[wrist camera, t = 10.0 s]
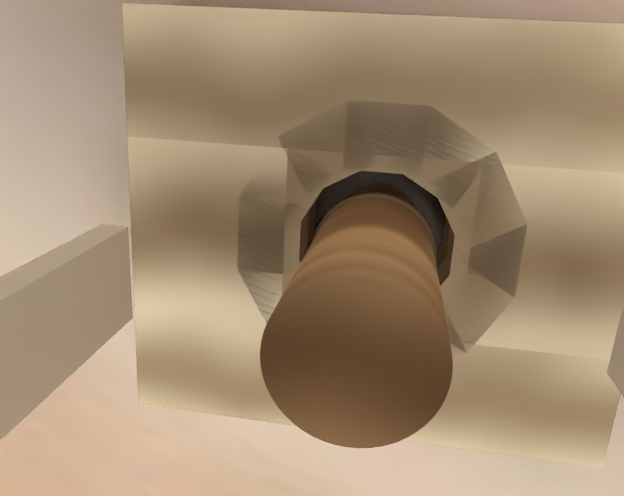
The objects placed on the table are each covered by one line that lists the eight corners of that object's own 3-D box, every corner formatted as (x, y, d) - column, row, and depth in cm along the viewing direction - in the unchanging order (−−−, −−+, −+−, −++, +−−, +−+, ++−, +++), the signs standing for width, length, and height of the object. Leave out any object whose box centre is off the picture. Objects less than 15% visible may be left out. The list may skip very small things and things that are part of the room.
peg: (331, 168, 24) (257, 258, 12) (435, 176, 24) (470, 280, 11) (325, 265, 26) (253, 437, 13) (424, 275, 25) (444, 464, 13)
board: (167, 15, 23) (122, 3, 20) (653, 36, 21) (709, 27, 17) (173, 360, 28) (138, 404, 24) (572, 411, 26) (602, 468, 22)
